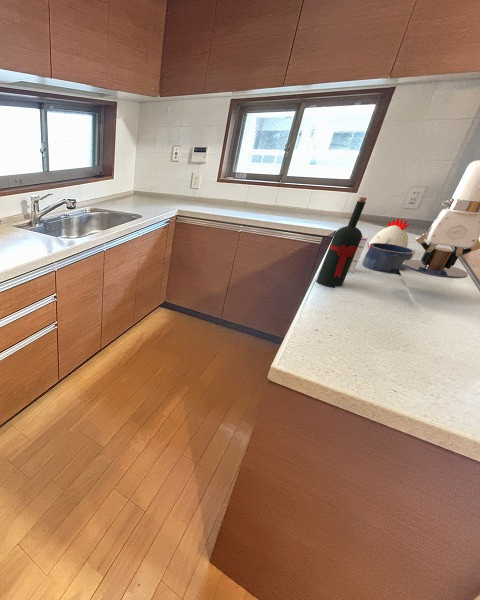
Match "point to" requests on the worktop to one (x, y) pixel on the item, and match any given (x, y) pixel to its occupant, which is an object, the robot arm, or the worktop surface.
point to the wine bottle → (342, 250)
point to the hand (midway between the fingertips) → (435, 265)
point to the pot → (387, 257)
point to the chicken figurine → (392, 234)
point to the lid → (437, 265)
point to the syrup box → (358, 254)
